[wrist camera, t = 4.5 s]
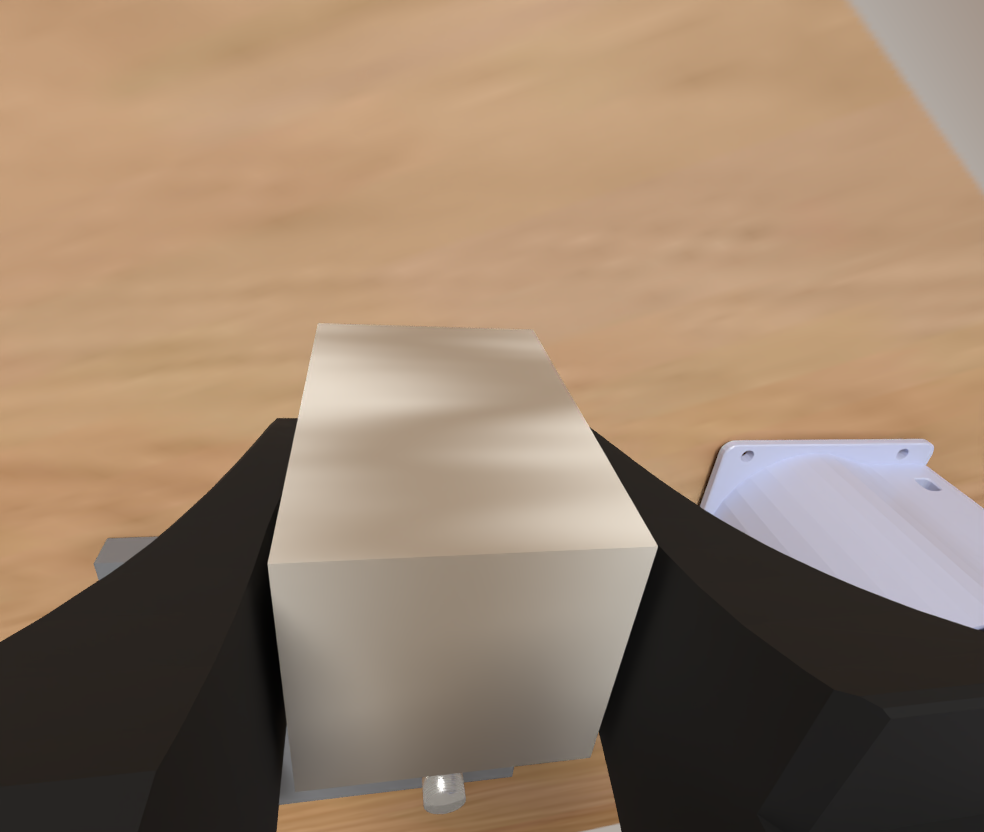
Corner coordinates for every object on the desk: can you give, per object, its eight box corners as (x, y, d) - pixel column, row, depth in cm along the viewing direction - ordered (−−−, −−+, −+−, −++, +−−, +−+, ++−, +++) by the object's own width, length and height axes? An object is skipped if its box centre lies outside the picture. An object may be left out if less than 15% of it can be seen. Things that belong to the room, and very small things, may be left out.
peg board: (553, 522, 24) (583, 600, 20) (507, 753, 32) (523, 836, 28) (107, 538, 20) (54, 633, 17) (181, 790, 29) (156, 889, 25)
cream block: (532, 329, 11) (657, 546, 6) (508, 494, 13) (589, 757, 8) (317, 322, 11) (267, 564, 6) (326, 498, 13) (295, 791, 8)
